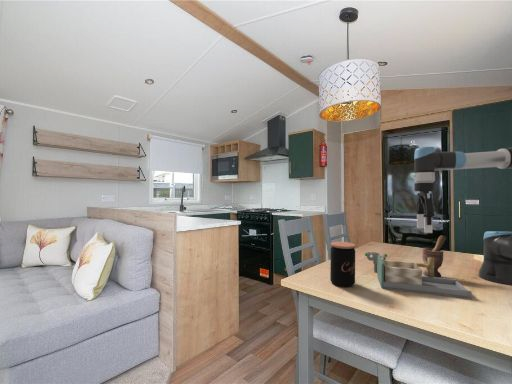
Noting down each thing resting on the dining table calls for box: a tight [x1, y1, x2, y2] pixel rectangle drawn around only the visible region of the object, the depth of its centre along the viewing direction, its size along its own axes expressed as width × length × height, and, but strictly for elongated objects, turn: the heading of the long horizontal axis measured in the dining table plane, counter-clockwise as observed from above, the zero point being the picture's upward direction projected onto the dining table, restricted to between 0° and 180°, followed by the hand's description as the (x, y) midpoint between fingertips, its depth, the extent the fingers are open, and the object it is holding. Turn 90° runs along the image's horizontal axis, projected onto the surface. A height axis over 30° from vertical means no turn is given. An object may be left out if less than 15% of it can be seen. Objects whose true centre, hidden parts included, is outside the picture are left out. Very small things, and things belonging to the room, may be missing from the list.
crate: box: [382, 258, 434, 285], centre depth 115 cm, size 20×12×12 cm, turn 71°
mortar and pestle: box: [421, 234, 447, 278], centre depth 129 cm, size 12×9×20 cm
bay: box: [377, 254, 473, 300], centre depth 113 cm, size 32×15×11 cm, turn 71°
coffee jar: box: [329, 241, 356, 288], centre depth 117 cm, size 11×11×18 cm
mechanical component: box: [364, 251, 388, 274], centre depth 133 cm, size 3×10×10 cm, turn 79°
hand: (424, 230), depth 114 cm, fingers open, 13 cm apart
